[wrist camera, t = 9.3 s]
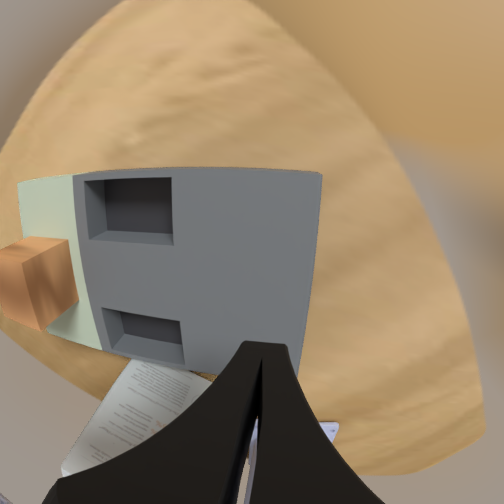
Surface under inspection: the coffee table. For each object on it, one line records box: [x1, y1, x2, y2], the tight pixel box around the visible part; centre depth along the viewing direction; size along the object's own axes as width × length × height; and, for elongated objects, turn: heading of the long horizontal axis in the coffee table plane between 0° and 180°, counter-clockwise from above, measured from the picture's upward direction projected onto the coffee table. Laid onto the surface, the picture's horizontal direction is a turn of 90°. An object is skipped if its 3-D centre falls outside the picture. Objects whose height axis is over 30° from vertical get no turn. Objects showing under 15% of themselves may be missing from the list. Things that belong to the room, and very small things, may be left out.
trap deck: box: [17, 167, 322, 377], centre depth 17 cm, size 13×21×2 cm, turn 88°
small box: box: [61, 358, 213, 477], centre depth 16 cm, size 8×6×13 cm
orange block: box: [0, 236, 79, 332], centre depth 15 cm, size 4×4×4 cm
